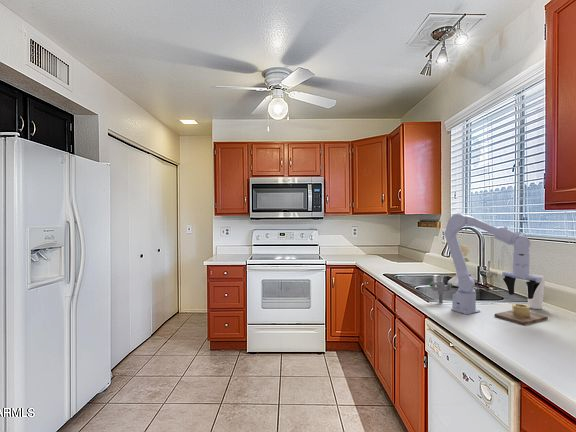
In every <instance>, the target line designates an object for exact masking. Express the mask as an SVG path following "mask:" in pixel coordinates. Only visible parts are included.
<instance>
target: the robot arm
mask: <svg viewBox="0 0 576 432" xmlns="http://www.w3.org/2000/svg"><path fill="white" fill-rule="evenodd" d="M465 226H466V227H475V228H478V229H480V230H481V231H482V230H483V231H485V232H487V233H490V234H492V236H493V238H494V239H495V240H498V241H500V242H502V243H505V244H507V245H512V246H513V252H512V272H509V271H502V272H501V273H502V274H501V275H502V277H503V278H502V279H503V281H504V283H505V286H506V288H507V290H508V294H509V295H510V296H511V295H512V296H513V295H515V283H516V279H517V280H523V281H525V284H527V285H526V289H527V288H528V296H527V300H528V299H533V296H534V293H535V291H536V289H537V287H538V286H539V284H540V282H541V277H536V276H532V275H529V274H530V248H531V244H532V243H531V242H530V239H529V238H528V237H527V236H525V235H524V234H521V233H520V232H516V231H514V230H511V229H508V227H507V226H498V227H496V226H494V225H491V224H489V223H488V222H485V221H483V220H480V219H479V218H476V217H473V216H471V215H466V214H464V213H462V212H461V213H459V212H458V213H454V214H452V216H450V218H449V219H448V220H447V224H446V227H445V231H444V232H443V233H444V238H445V240H446V244H447V246H448V249H449V252H450V255H451V258H452V261H453V264H454V267H455V272H456V271H457V277H458V287H457V291H456V292H454V293H453V295H452V304H451V305H452V308H450V310H451V311H454V312H457V313H461V314H464V315H469V314H470V315H471V314H476V313H479V312H481V310H479V309H476V307H477V306H476V302H477V299H476V297H477V295H476V294H477V293H476V290H475V288H474V287H475V284H476V279H475V277H474V276H472V275H471V272H470V269H469V268H468V265H467V262H465V259H464V258H465V257H464V256H463V253H462V250H461V247H460V242H459V239H458V236H457V235H458V233H459V232H460V230H461V229H462V228H463V227H465ZM526 280H528V281H530V282H526Z"/></svg>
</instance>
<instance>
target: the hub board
mask: <svg viewBox="0 0 576 432" xmlns="http://www.w3.org/2000/svg"><path fill="white" fill-rule="evenodd" d="M494 317H495V318H497V319H498V318H499V319H501V320H505V321H509V322H513V323H515V324H519V325H522V326H527V325H531V324H535V323H540V322H542V321H546V320H549V317H548V315H543V314H539V313H535V312H531V311H530V317H518V316H515V315H513V314H512V309H511V310H506V311H502V312H497V313H494Z"/></svg>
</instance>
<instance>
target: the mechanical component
mask: <svg viewBox="0 0 576 432" xmlns="http://www.w3.org/2000/svg"><path fill="white" fill-rule="evenodd" d="M429 287H430V289H431V290H432V291H435V292H437V294H438V303H439V304H440V305H441V304H443V299H444V298H443V295H444V292H450V291H451V289H452V287H453V286H452V283H448V282H447V284H445V282H443V281H442V282H441V281H436V282H435V281H434V282H433V281H432V282H430V283H429Z"/></svg>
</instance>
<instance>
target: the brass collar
mask: <svg viewBox="0 0 576 432" xmlns="http://www.w3.org/2000/svg"><path fill="white" fill-rule="evenodd" d="M511 310H512V314H513V315H515V316H518V317H530V312H531V311H530V310H531V308H530V307H529V306H528V304H524V303H513V304H512V309H511Z"/></svg>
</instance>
